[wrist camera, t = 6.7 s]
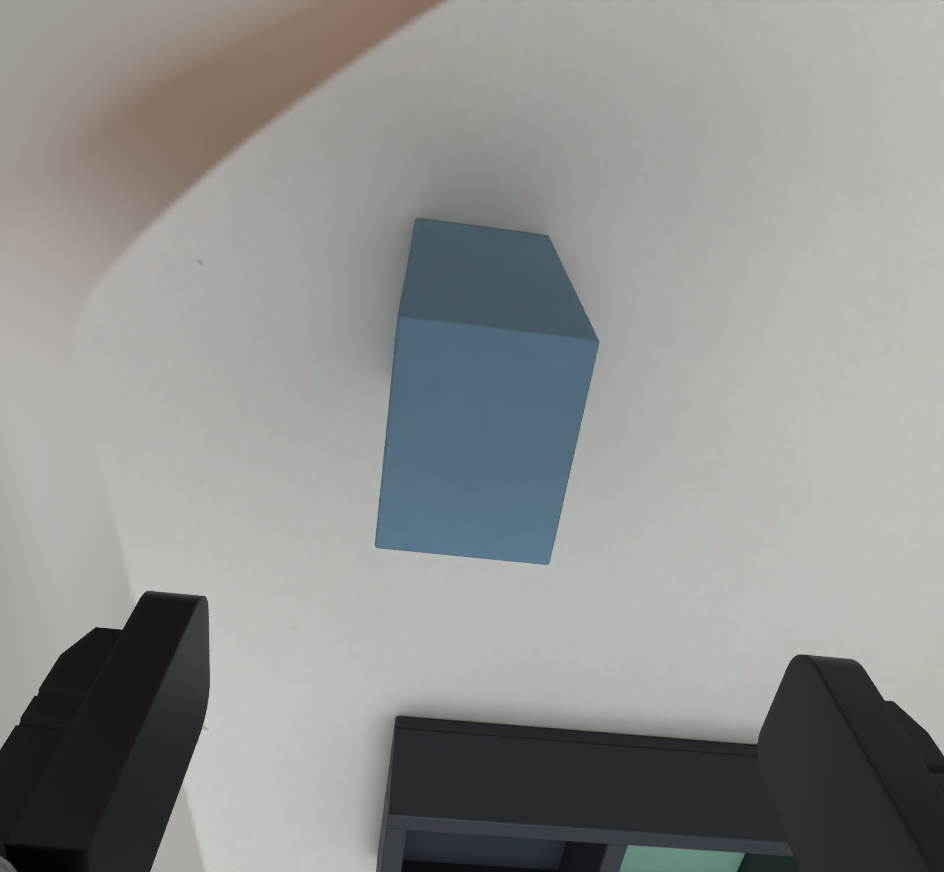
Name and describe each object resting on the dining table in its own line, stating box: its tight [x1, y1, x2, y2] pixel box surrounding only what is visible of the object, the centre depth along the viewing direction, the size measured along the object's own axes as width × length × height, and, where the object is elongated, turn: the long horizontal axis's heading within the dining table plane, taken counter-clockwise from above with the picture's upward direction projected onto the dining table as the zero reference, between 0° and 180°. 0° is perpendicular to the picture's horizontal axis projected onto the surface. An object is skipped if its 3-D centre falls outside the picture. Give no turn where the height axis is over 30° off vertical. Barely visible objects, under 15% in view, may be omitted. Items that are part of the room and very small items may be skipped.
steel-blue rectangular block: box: [375, 218, 599, 565], centre depth 21 cm, size 4×6×9 cm
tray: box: [376, 717, 800, 872], centre depth 33 cm, size 9×17×5 cm, turn 82°
